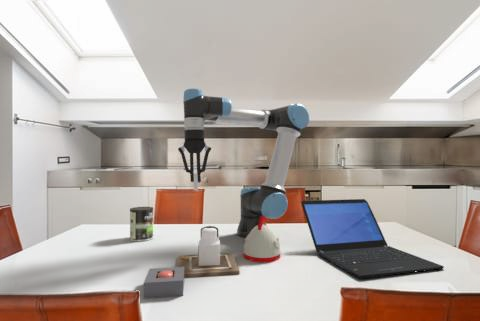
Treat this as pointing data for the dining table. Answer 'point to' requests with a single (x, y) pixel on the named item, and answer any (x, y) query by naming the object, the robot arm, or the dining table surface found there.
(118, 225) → the dining table surface
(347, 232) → the laptop
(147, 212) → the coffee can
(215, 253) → the medicine bottle
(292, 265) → the dining table surface
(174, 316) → the dining table surface
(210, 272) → the picture board
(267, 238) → the kitchen timer
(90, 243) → the dining table surface
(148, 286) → the block
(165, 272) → the button
